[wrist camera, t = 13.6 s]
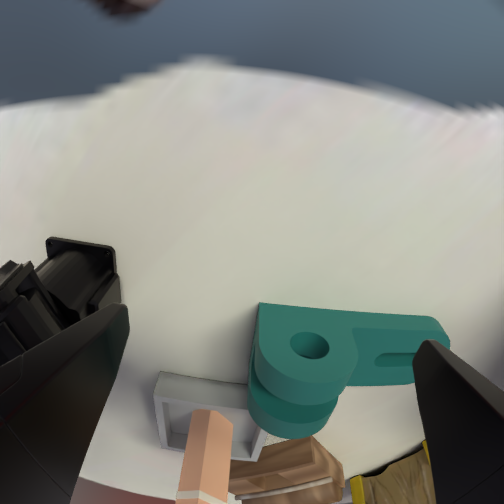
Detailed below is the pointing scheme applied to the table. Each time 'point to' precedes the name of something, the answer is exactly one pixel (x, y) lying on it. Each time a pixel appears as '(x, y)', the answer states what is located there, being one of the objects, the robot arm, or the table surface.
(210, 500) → the peach block
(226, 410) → the tray
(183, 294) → the table surface
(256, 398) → the bracket
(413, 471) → the decorative book
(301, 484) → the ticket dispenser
